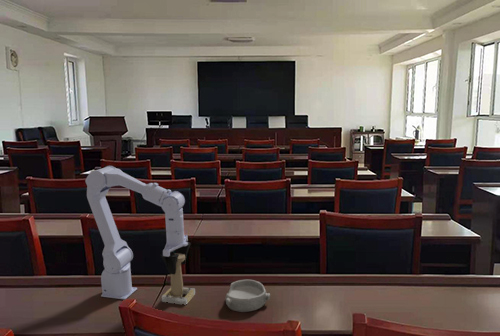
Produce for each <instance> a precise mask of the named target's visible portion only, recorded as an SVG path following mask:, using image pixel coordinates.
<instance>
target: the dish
mask: <svg viewBox="0 0 500 336" xmlns="http://www.w3.org/2000/svg"><path fill="white" fill-rule="evenodd" d="M270 299H271V293H270V292H268V293H267V290H266V289H265V285H263V283H261V282H260V281H257V280H254V279H239V280H236V281H233V282H231V283H230V285H229V290H228V292H227V293H226V295H225V304H226V305H227V308H229V310H232V311H235V312H241V313H247V312H253V311H257V310H258V309H261V308H262V307H263V306H265V304H266V303H267V302H266V301H269V300H270Z"/></svg>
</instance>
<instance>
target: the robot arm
mask: <svg viewBox="0 0 500 336" xmlns="http://www.w3.org/2000/svg"><path fill="white" fill-rule="evenodd" d="M84 181H85V184H86V186H87V187H86V198H87V201H88V204H89V207H90V209H91V212H92V215H93V218H94V220H95V222H96V225H97V228H98V231H99V234H100V236H101V239H102V242H103V245H104V248H103V250H102V255H101V256H102V258H103V263H102V264H103V268H104V269H103V271H102V273H101V276H100V283H101V293H102V294H101V295H100V296H101V297H102V298H110V299H118V300H126V299H128V298H129V297H131V295H133V294H134V292H136V290H138V287H135V286H134V287H133V285H132V284H133V283H132V273H131V271H132V269H131V262H132V261H133V258H134V253H133V251H132V249H131V248H130V247H129V245H128V243H127V241H125V240H123V239H122V238H121V236H120V234H119V230H118V227H117V225H116V222H115V220H114V216H113V214H112V211H111V209H110V205H109V203H108V200H107V198H106V196H107V194H108V193H109V190H110V189H111V188H112V187H115V186H116V187H117V186H121V187H124V188H126V189H129V190H131V191H133V192H136V193H139V194H141V195H142V198H143V200H145V201H147V202H150V203H152V204H154V205H156V206H158V207H161V209H162V211H163V212H164V214H165V215H164V217H165V232H166V233H165V234H166V235H165V237H166V244H165V246H164V249H163V250H162V252H161V253H160V258H161V259H162V260H163V263H164V264H165V267H166V269H167V272H168V274H170V275H171V274H175V273H176V263H177V259H178V256H179V254H174V253H175V252H176V253H180V254H184V255H185V260H184V261H183V262H181V266H185V265H186V262H187V258H188V253H189V249H190V247H191V245H192V243H191V242H188V241H189V239H188V237H189V236H188V235H187V234H185V226H184V225H185V224H184V211H183V210H184V209H183V207H184V205H185V203H186V199H185V196H184V194H183V193H181V192H180V191H177V190H174V191H172V190H171V189H166V188H164V187H162V186H159V183H157V182H149V183H145V182H142V181H140V180H139V179H137V178H135V177H134V176H131V175H129V174H128V173H126V172H123V171H122V170H121V169H120V168H116V167H115V166H113V165H106V166H105V167H103V168H99V169H96V170H92V171H90V172H89V174H88V175H87V176H86V178H85V180H84ZM174 251H175V252H174Z"/></svg>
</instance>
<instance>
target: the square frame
mask: <svg viewBox="0 0 500 336" xmlns="http://www.w3.org/2000/svg"><path fill="white" fill-rule="evenodd" d="M182 294H183V295H185V296H183V297H176V296H172V291H171V287H170V288H169V289H167V290H166V292H165V293H163V294H162V295H161V302H162V303H166V302H168V303H167V304H174V303H175V305H182V304H184V305H185V306H187V305H188V303H189V302H190V301H191V300H192V299H193V298H194V297H195V295H196V288H195V287H192V288H191V287H185V286H183V293H182ZM186 304H187V305H186Z"/></svg>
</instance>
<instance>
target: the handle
mask: <svg viewBox="0 0 500 336" xmlns="http://www.w3.org/2000/svg"><path fill="white" fill-rule="evenodd" d="M173 253H174V254H179V256H178V259H177V263H176V273H175V274H170V288H171V291H172V295H171V296H176V297H184V294H182V293H183V287H184V281H183V273H182V265H181V262H183V261H184V260H185V255H184V254H180V253H177V252H176V253H175V252H173Z"/></svg>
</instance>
